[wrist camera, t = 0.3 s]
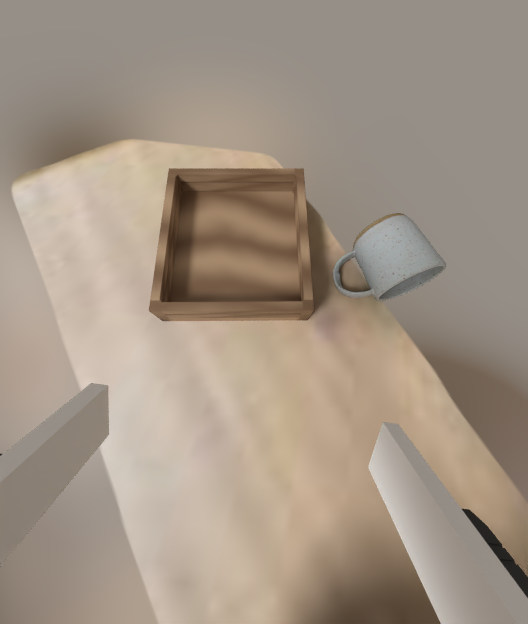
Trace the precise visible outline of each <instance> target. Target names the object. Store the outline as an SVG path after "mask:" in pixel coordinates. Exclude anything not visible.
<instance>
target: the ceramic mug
mask: <svg viewBox="0 0 528 624" xmlns="http://www.w3.org/2000/svg"><path fill="white" fill-rule="evenodd" d="M353 257H356V260H357V262H358V264H359V265H360V268H361V269H362V271H363V274H364V276H365V278H366V280H367V282H368V285H369V287H370V289H371V290H369V291H363V292H351V291H348V290H346V289H343V287H342V284H341V281H340V273H339V269H340V267H341V265H342V264H344V263H345V262H346V261H348V260H349V259H351V258H353ZM445 267H446V264H445V262H444V260H443V259H442V258H441V257H440V255H439V254H438V253H437V252H436V250H435V249H434V248H433V246H432V245H431V244H430V242H429V241H428V240H427V239H426V237H425V236H424V235H423V234H422V232H421V231H420V229H419V228H418V227H417V225H416V224H415V223H414V222H413V221H412V220H411V219H410V218H408V217H407V216H406V215H404V214H401V213H396V214H390V215H387V216H384V217H382V218H380V219H378V220H376V221H374V222H373V223H371V224H370V225H368V226H367V227H366V228H365V229H364V230H363V231H362V232H361V233H360V234H359V235H358V236H357V238H356V240H355V242H354V246H353V251H351V252H349V253H347V254H345V255H344V256H342V257H341V258H340V259H339V260H338V261H337V263H336V265H335V267H334V270H333V279H334V283H335V285H336V287H337V289H338V290H339V291H340V292H341V293H342V294H343V295H345V296H348V297H352V298H361V297H367V296H370V295H374V297H375V298H376V300H378V301H384V300H388V299H392V298H395V297H398V296H401V295H403V294H406V293H408V292H410V291H412V290H414V289H416V288H418V287H420V286H422V285H424V284H425V283H427V282H429V281H430V280H431V279H433V278H435V277H436V276H437V275H438V274H440V273H441V272H442V271H443V270H444V269H445Z"/></svg>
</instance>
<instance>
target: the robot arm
mask: <svg viewBox="0 0 528 624" xmlns="http://www.w3.org/2000/svg"><path fill="white" fill-rule="evenodd" d="M108 435H109V411H108V385H101V384H93V383H91V384H90V385H89V386H87V387H86V388H85V389H84V390H82V391H81V392H80V393H79V394H77V395H76V396H75V397H74V398H72V399H71V400H70V401H69V402H67V403H66V404H65V405H64V406H62V407H61V408H60V409H59V410H57V411H56V412H55V413H54V414H52V415H51V416H50V417H49V418H47V419H46V420H45V421H44V422H42V423H41V424H40V425H39V426H37V427H36V428H35V429H34V430H32V431H31V432H30V433H29V434H27V435H26V436H25V437H24V438H22V439H21V440H20V441H19V442H18V443H16V444H15V445H14V446H12V447H11V448H10V449H9V450H7V451H6V452H5V453H4V454H0V567H1V565H2V564H3V563H4V562H5V561H6V559H7V558H8V557H9V556H10V554H11V553H12V552H13V551H14V549H15V548H16V547H17V546H18V545H19V543H20V542H21V541H22V540H23V539H24V537H25V536H26V535H27V534H28V532H29V531H30V530H31V529H32V528H33V526H34V525H35V524H36V523H37V522H38V520H39V519H40V518H41V517H42V516H43V514H44V513H45V512H46V511H47V509H48V508H49V507H50V505H51V504H52V503H53V502H54V501H55V500H56V498H57V497H58V496H59V495H60V494H61V492H62V491H63V490H64V489H65V487H66V486H67V485H68V484H69V483H70V481H71V480H72V479H73V478H74V476H75V475H76V474H77V473H78V472H79V470H80V469H81V468H82V467H83V466H84V464H85V463H86V462H87V461H88V459H89V458H90V457H91V456H92V455H93V453H94V452H95V451H96V450H97V448H98V447H99V446H100V445H101V444H102V442H103V441H104V440H105V439H106V437H107V436H108ZM368 468H369V470H370V472H371V474H372V477H373V479H374V481H375V483H376V485H377V487H378V489H379V492H380V494H381V496H382V498H383V500H384V502H385V505H386V507H387V509H388V511H389V513H390V515H391V517H392V520H393V522H394V524H395V526H396V528H397V530H398V533H399V535H400V537H401V539H402V541H403V543H404V546H405V548H406V550H407V552H408V554H409V556H410V558H411V561H412V563H413V565H414V567H415V569H416V571H417V574H418V576H419V578H420V580H421V582H422V584H423V586H424V589H425V591H426V593H427V595H428V597H429V599H430V602H431V604H432V606H433V608H434V610H435V612H436V614H437V617H438V619H439V621H440V623H441V624H528V577H527V576H526V575H525V573H524V572H523V571H522V569H521V568H520V567H519V566H518V565H516V564H515V562H514V559H513V558H512V557H511V556H510V554H509V553H508V552H507V550H506V549H505V548H503V547H502V544H501V543H500V542H499V540H498V539H497V538H496V537H495V535H494V534H493V533H492V531H491V530H490V529H489V528H488V526H487V525H486V524H484V523H483V522H482V521H481V520H480V519H479V518H478V517H477V516H476V515H475V514H474V513H472V512H471V511H470V510H468V509H461V508H460V506H459V505H458V504H457V502H456V501H455V500H454V498H453V497H452V496H451V494H450V493H449V492H448V490H447V489H446V488H445V486H444V485H443V484H442V482H441V481H440V480H439V478H438V477H437V475H436V474H435V473H434V471H433V470H432V469H431V467H430V466H429V465H428V463H427V462H426V461H425V459H424V458H423V457H422V455H421V454H420V453H419V451H418V450H417V449H416V447H415V446H414V445H413V443H412V442H411V440H410V439H409V438H408V436H407V435H406V434H405V432H404V431H403V430H402V428H401V427H400V426H399V424H394V423H386V422H383V424H382V427H381V430H380V433H379V436H378V439H377V442H376V445H375V448H374V451H373V454H372V457H371V460H370V463H369V466H368Z"/></svg>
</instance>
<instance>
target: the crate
mask: <svg viewBox="0 0 528 624" xmlns="http://www.w3.org/2000/svg"><path fill="white" fill-rule="evenodd" d="M149 311H150V312H151V313H153V314H154V315H155V316H157V317H158V318H160V319H161V320H162V321H231V320H308V319H309V317H310V315H311V314H312V312H313V311H314V304H313V290H312V277H311V263H310V250H309V236H308V223H307V209H306V196H305V182H304V169H169V172H168V179H167V186H166V194H165V201H164V208H163V215H162V222H161V229H160V236H159V243H158V250H157V257H156V264H155V271H154V278H153V285H152V292H151V299H150V306H149Z"/></svg>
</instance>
